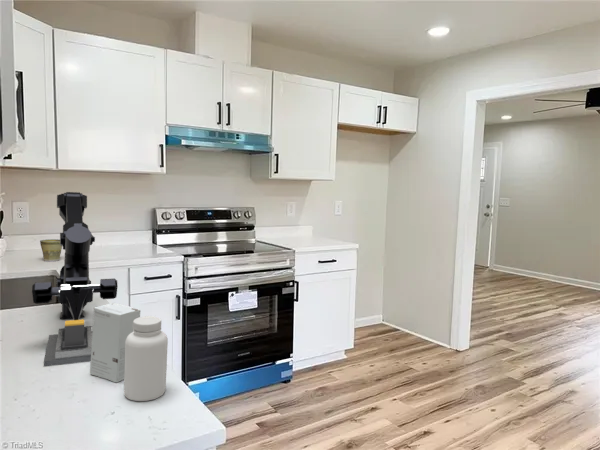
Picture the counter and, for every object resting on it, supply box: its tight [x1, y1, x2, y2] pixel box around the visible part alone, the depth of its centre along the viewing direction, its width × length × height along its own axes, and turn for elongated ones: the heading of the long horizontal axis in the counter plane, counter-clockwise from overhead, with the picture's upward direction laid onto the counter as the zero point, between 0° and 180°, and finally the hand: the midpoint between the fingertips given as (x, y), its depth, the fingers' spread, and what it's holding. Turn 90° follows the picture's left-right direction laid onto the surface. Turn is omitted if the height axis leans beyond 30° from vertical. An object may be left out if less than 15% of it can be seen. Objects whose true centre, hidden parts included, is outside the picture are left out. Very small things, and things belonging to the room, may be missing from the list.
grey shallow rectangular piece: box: [43, 325, 93, 368], centre depth 108 cm, size 18×12×3 cm, turn 26°
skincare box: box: [89, 302, 141, 383], centre depth 95 cm, size 8×6×15 cm
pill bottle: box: [123, 315, 169, 402], centre depth 87 cm, size 8×8×15 cm
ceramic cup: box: [39, 238, 63, 263], centre depth 217 cm, size 13×10×10 cm
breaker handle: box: [62, 318, 86, 350], centre depth 104 cm, size 4×5×7 cm
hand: (76, 320), depth 105 cm, fingers closed, pressing on breaker handle
